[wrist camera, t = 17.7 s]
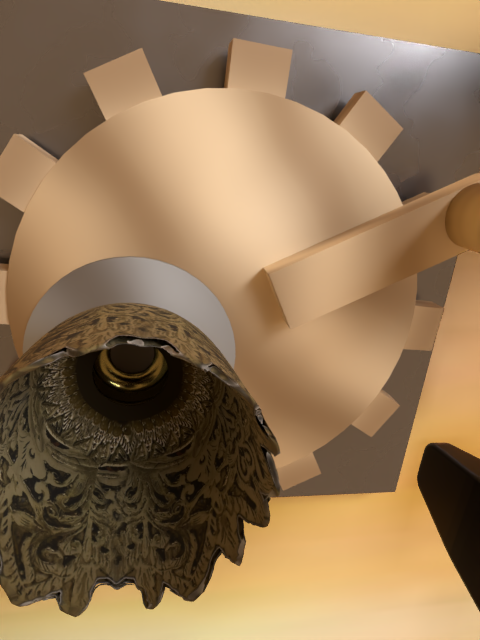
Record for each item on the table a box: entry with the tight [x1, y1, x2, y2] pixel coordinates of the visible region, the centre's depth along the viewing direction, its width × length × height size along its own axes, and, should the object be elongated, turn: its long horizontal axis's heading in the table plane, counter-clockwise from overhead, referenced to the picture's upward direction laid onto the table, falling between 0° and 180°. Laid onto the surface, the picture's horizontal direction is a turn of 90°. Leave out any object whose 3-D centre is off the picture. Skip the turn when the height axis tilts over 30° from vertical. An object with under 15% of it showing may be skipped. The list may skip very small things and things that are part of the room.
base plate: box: [0, 0, 480, 497], centre depth 20 cm, size 21×21×1 cm
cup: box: [0, 303, 280, 617], centre depth 14 cm, size 8×7×8 cm
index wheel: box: [0, 38, 480, 491], centre depth 16 cm, size 20×19×6 cm
